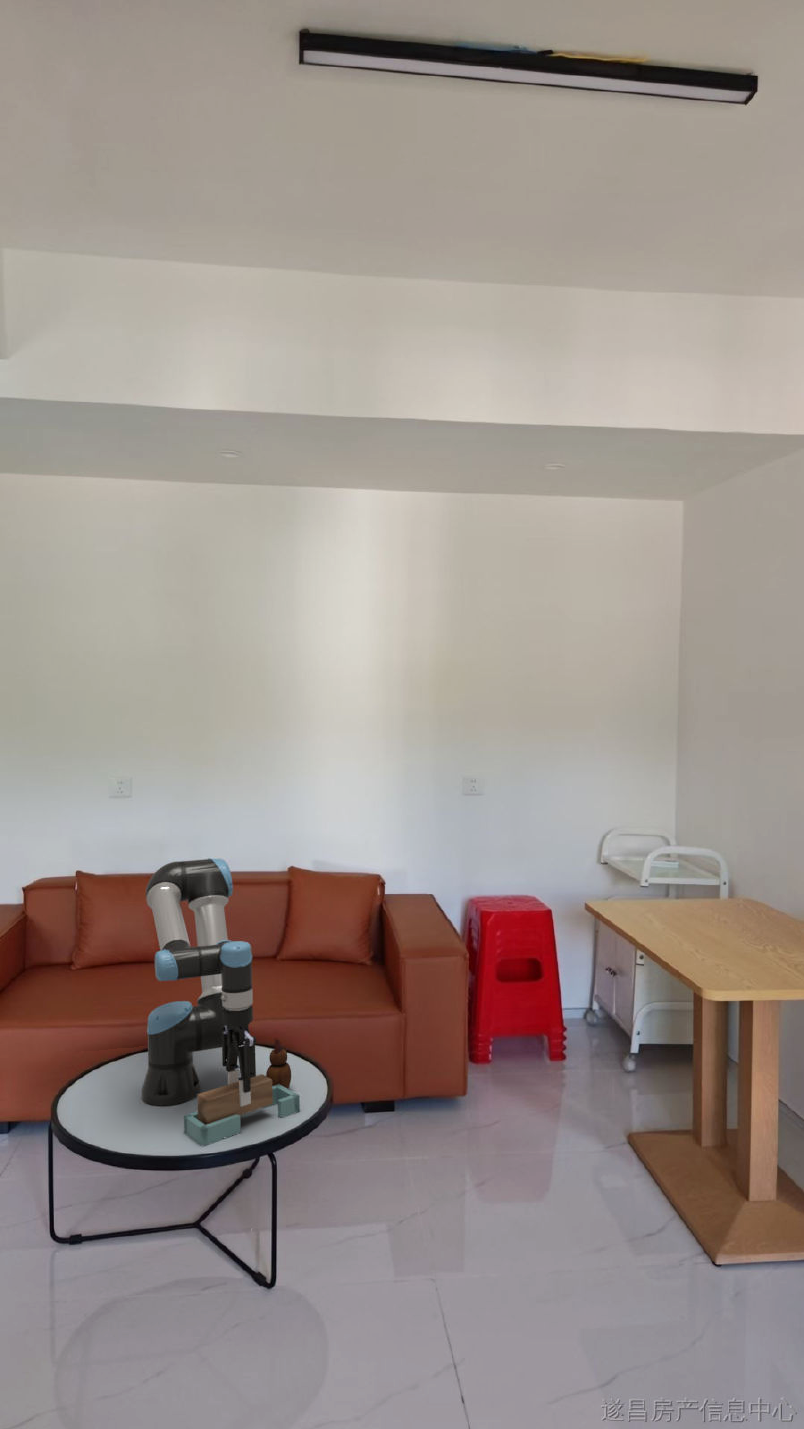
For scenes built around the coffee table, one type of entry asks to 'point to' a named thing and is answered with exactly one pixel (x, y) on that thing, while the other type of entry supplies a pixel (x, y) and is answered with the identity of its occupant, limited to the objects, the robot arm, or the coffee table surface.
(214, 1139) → the endcaps
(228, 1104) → the slat
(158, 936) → the robot arm
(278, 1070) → the wooden figurine
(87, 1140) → the coffee table surface
